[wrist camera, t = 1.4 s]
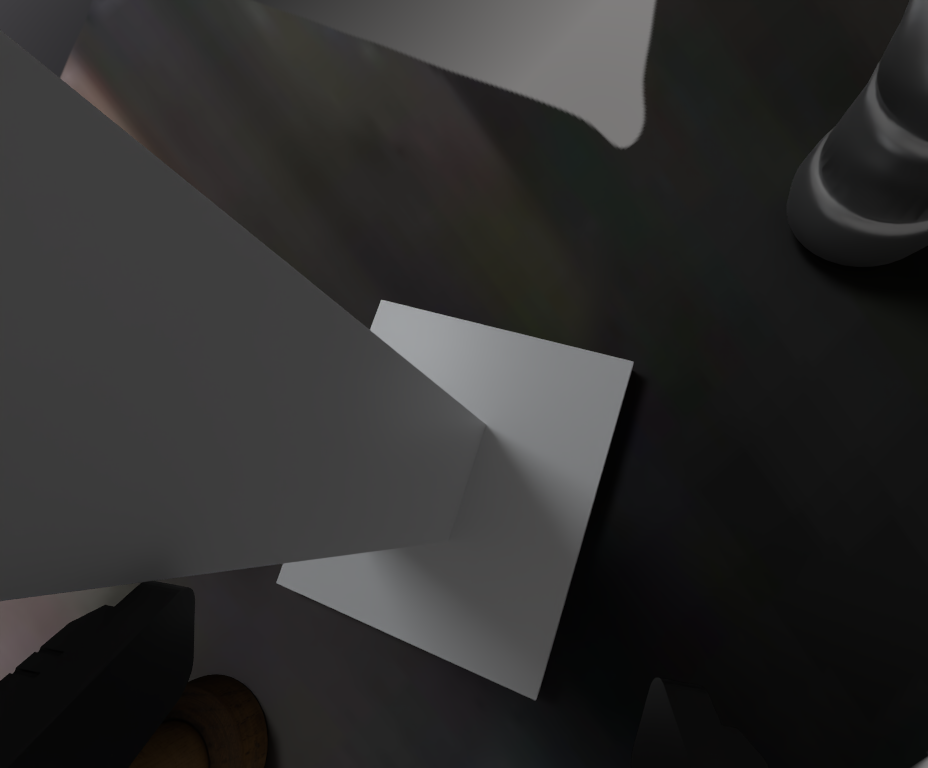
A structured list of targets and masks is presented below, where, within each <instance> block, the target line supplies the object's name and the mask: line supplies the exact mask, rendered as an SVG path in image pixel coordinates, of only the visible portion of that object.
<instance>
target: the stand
mask: <svg viewBox="0 0 928 768" xmlns="http://www.w3.org/2000/svg"><path fill="white" fill-rule="evenodd" d="M632 368H633V362H632V361H628V360H624V359H620V358H616V357H612V356H608V355H604V354H600V353H596V352H592V351H588V350H584V349H580V348H575V347H571V346H567V345H563V344H559V343H555V342H551V341H547V340H543V339H539V338H535V337H531V336H527V335H522V334H518V333H514V332H510V331H506V330H502V329H498V328H494V327H490V326H486V325H482V324H478V323H474V322H470V321H465V320H461V319H457V318H453V317H449V316H445V315H441V314H437V313H433V312H429V311H425V310H421V309H417V308H412V307H408V306H404V305H400V304H396V303H392V302H388V301H384V300H381V302H380V305H379V307H378V310H377V313H376V316H375V318H374V321H373V324H372V326H371V329H370V330H369V329H368V328H367V327H365V326H364V325H363V324H362V323H361V322H359V321H358V320H357V319H356V318H354V317H353V316H352V315H351V314H349V313H348V312H347V311H346V310H345V309H343V308H342V307H341V306H340V305H338V304H337V303H336V302H335V301H333V300H332V299H331V298H330V297H329V296H327V295H326V294H325V293H324V292H322V291H321V290H320V289H319V288H317V287H316V286H315V285H314V284H313V283H311V282H310V281H309V280H308V279H306V278H305V277H304V276H303V275H301V274H300V273H299V272H298V271H296V270H295V269H294V268H293V267H292V266H290V265H289V264H288V263H287V262H285V261H284V260H283V259H282V258H280V257H279V256H278V255H277V254H276V253H274V252H273V251H272V250H271V249H269V248H268V247H267V246H266V245H264V244H263V243H262V242H261V241H260V240H258V239H257V238H256V237H255V236H253V235H252V234H251V233H250V232H248V231H247V230H246V229H245V228H244V227H242V226H241V225H240V224H239V223H237V222H236V221H235V220H234V219H232V218H231V217H230V216H229V215H228V214H226V213H225V212H224V211H223V210H221V209H220V208H219V207H218V206H216V205H215V204H214V203H213V202H212V201H210V200H209V199H208V198H207V197H205V196H204V195H203V194H202V193H200V192H199V191H198V190H197V189H196V188H194V187H193V186H192V185H191V184H189V183H188V182H187V181H186V180H184V179H183V178H182V177H181V176H180V175H178V174H177V173H176V172H175V171H173V170H172V169H171V168H170V167H168V166H167V165H166V164H165V163H164V162H162V161H161V160H160V159H159V158H157V157H156V156H155V155H154V154H152V153H151V152H150V151H149V150H148V149H146V148H145V147H144V146H143V145H141V144H140V143H139V142H138V141H136V140H135V139H134V138H133V137H131V136H130V135H129V134H128V133H127V132H125V131H124V130H123V129H122V128H120V127H119V126H118V125H117V124H115V123H114V122H113V121H112V120H111V119H109V118H108V117H107V116H106V115H104V114H103V113H102V112H101V111H99V110H98V109H97V108H96V107H95V106H93V105H92V104H91V103H90V102H88V101H87V100H86V99H85V98H83V97H82V96H81V95H80V94H79V93H77V92H76V91H75V90H74V89H72V88H71V87H70V86H69V85H67V84H66V83H65V82H64V81H63V80H61V79H60V78H59V77H58V76H56V75H55V74H54V73H53V72H51V71H50V70H49V69H48V68H46V67H45V66H44V65H43V64H42V63H40V62H39V61H38V60H37V59H35V58H34V57H33V56H32V55H30V54H29V53H28V52H27V51H26V50H24V49H23V48H22V47H21V46H19V45H18V44H17V43H16V42H14V41H13V40H12V39H11V38H10V37H8V36H7V35H6V34H5V33H3V32H2V31H1V30H0V601H4V600H12V599H19V598H27V597H34V596H42V595H49V594H57V593H64V592H72V591H80V590H87V589H95V588H102V587H110V586H117V585H125V584H132V583H140V582H147V581H155V580H163V579H170V578H178V577H185V576H193V575H200V574H208V573H215V572H223V571H231V570H238V569H246V568H253V567H261V566H268V565H276V564H283V566H282V569H281V571H280V574H279V577H278V579H277V582H276V583H278V584H280V585H282V586H284V587H286V588H289V589H291V590H293V591H295V592H297V593H300V594H302V595H304V596H306V597H308V598H311V599H313V600H315V601H317V602H319V603H322V604H324V605H326V606H328V607H330V608H333V609H335V610H337V611H339V612H342V613H344V614H346V615H348V616H350V617H353V618H355V619H357V620H359V621H361V622H364V623H366V624H368V625H370V626H372V627H375V628H377V629H379V630H381V631H383V632H386V633H388V634H390V635H392V636H394V637H397V638H399V639H401V640H403V641H405V642H408V643H410V644H412V645H414V646H416V647H419V648H421V649H423V650H425V651H427V652H430V653H432V654H434V655H436V656H438V657H441V658H443V659H445V660H447V661H449V662H452V663H454V664H456V665H458V666H460V667H463V668H465V669H467V670H469V671H471V672H474V673H476V674H478V675H480V676H482V677H485V678H487V679H489V680H491V681H493V682H496V683H498V684H500V685H502V686H505V687H507V688H509V689H511V690H513V691H516V692H518V693H520V694H522V695H524V696H527V697H529V698H531V699H533V700H535V701H536V699H537V696H538V694H539V691H540V688H541V684H542V681H543V677H544V674H545V670H546V667H547V663H548V660H549V657H550V653H551V650H552V646H553V643H554V639H555V636H556V632H557V629H558V625H559V622H560V618H561V615H562V611H563V608H564V605H565V601H566V598H567V594H568V591H569V587H570V584H571V580H572V577H573V573H574V570H575V566H576V563H577V559H578V556H579V553H580V549H581V546H582V542H583V539H584V535H585V532H586V528H587V525H588V521H589V518H590V514H591V511H592V507H593V504H594V500H595V497H596V494H597V490H598V487H599V483H600V480H601V476H602V473H603V469H604V466H605V462H606V459H607V455H608V452H609V448H610V445H611V442H612V438H613V435H614V431H615V428H616V424H617V421H618V417H619V414H620V410H621V407H622V403H623V400H624V396H625V393H626V390H627V386H628V383H629V379H630V376H631V372H632Z"/></svg>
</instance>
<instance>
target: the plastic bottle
mask: <svg viewBox="0 0 928 768" xmlns="http://www.w3.org/2000/svg"><path fill="white" fill-rule="evenodd" d="M787 219H788V222H789V225H790V228H791V230H792V232H793V233H794V235H795V237H796V238H797V239H798V240H799V242H800V243H801V244H802V245H803V246H804V247H805V248H807V249H808V250H809V251H811V252H812V253H813V254H815V255H817V256H819V257H821V258H823V259H825V260H827V261H830V262H833V263H837V264H840V265H845V266H853V267H874V266H880V265H885V264H889V263H892V262H895V261H898V260H901V259H903V258H905V257H907V256H909V255H911V254H913V253H915V252H917V251H919V250H921V249H922V248H924V247H926V246H928V0H910V1H909V4H908V6H907V8H906V11H905V13H904V16H903V18H902V21H901V22H900V24H899V26H898V28H897V30H896V32H895V34H894V35H893V37H892V39H891V41H890V43H889V45H888V47H887V48H886V50H885V52H884V54H883V57H882V59H881V61H880V62H879V63H878V65H877V67H876V69H875V71H874V73H873V75H872V77H871V78H870V80H869V82H868V84H867V85H866V86H865V88H864V89H863V90H862V92H861V93H860V94H859V96H858V97H857V98H856V100H855V101H854V102H853V104H852V105H851V106H850V108H849V109H848V110H847V112H846V113H845V114H844V116H843V117H842V118H841V120H840V121H839V122H838V124H837V125H836V126H835V127H834V128H833V129H832V130H831V131H830V132H829V133H828V134H827V135H825V136H824V137H823V138H822V139H821V140H820V142H819V143H818V144H817V145H816V146H815V148H814V149H813V150H812V151H811V152H810V154H809V155H808V156H807V157H806V158H805V160H804V161H803V162H802V164H801V165H800V166H799V168H798V170H797V172H796V174H795V176H794V178H793V181H792V185H791V189H790V193H789V197H788V202H787Z"/></svg>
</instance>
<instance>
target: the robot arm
mask: <svg viewBox="0 0 928 768" xmlns="http://www.w3.org/2000/svg"><path fill="white" fill-rule="evenodd" d="M194 614H195V596H194V592H193V590H192V589H191V588H188V587H183V586H178V585H173V584H167V583H162V582H157V581H147V582H142V583H141V584H140V585H138V586H137V587H136V588H135V589H134V590H133V591H132V592H130V593H129V594H128V595H127V596H126V597H125V598H124V599H123V600H122V601H120V602H119V603H118V604H117V605H116V606H115V607H113V606H108V605H104V606H102V607H100V608H98V609H96V610H94V611H92V612H90V613H88V614H86V615H84V616H82V617H80V618H78V619H76V620H74V621H72V622H70V623H69V624H67V625H66V626H65V627H64V628H63V629H62V630H60V631H59V632H58V633H57V634H56V635H54V636H53V637H52V638H51V639H50V640H48V641H47V642H46V643H45V644H44V645H42V646H41V648H40V650H39V652H38V653H37V652H34V653H33V654H32V655H31V656H29V657H28V658H27V659H26V660H25V661H23V662H22V663H21V664H20V665H19V666H17V667H16V670H15V672H14V673H13V674H11V673H9V674H8V675H7V676H6V677H4V678H3V679H2V680H1V681H0V768H129V766H130V765H131V763H132V762H133V761H134V759H135V758H136V757H137V755H138V754H139V753H140V751H141V750H142V749H143V747H144V746H145V745H146V743H147V742H148V741H149V739H150V738H151V737H152V735H153V734H154V733H155V731H156V730H157V729H158V727H159V726H160V725H161V723H162V722H163V721H164V719H165V718H166V717H167V715H168V714H169V713H170V711H171V710H172V708H173V707H174V706H175V704H176V703H177V702H178V700H179V699H180V697H181V695H182V694H183V692H184V690H185V688H186V685H187V683H188V680H189V678H190V674H191V671H192V666H193V658H194ZM631 768H769V767H768V765H767V763H766V761H765V760H764V758H763V757H762V756H761V755H760V754H759V753H758V751H757V750H756V749H755V748H754V747H753V746H752V744H751V743H750V742H749V741H748V740H747V739H746V737H745V736H744V735H743V734H742V733H741V732H740V730H739V729H738V728H734V727H728V726H723V725H722V724H721V722H720V720H719V717H718V715H717V713H716V710H715V708H714V706H713V704H712V701H711V699H710V697H709V694H708V692H707V691H706V689H705V688H704V687H702V686H700V685H694V684H689V683H684V682H678V681H673V680H668V679H662V678H655V679H654V680H653V681H652V683H651V685H650V688H649V692H648V696H647V699H646V703H645V706H644V710H643V713H642V717H641V721H640V724H639V728H638V731H637V735H636V739H635V742H634V746H633V750H632V757H631Z"/></svg>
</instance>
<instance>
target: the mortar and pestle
mask: <svg viewBox="0 0 928 768" xmlns="http://www.w3.org/2000/svg"><path fill="white" fill-rule="evenodd" d="M267 743H268V739H267V728H266V722H265V718H264V715H263V712H262V710H261V707H260V705H259V703H258V701H257V700H256V698H255V697H254V695H253V694H252V692H251V691H250V690H249V689H248V688H247V687H246V686H244V685H243V684H242V683H240V682H239V681H237V680H235V679H234V678H231V677H228V676H225V675H207V676H203V677H200V678H197V679H194V680H192V681H190V682H188V683H187V685H186V688H185V690H184V692H183V694H182V695H181V697H180V699H179V700H178V702H177V703H176V704H175V706H174V707H173V708H172V710H171V711H170V713H169V714H168V715H167V717H166V718H165V719H164V721H163V722H162V723H161V725H160V726H159V727H158V729H157V730H156V731H155V733H154V734H153V735H152V737H151V738H150V739H149V741H148V742H147V743H146V745H145V746H144V747H143V749H142V750H141V751H140V753H139V754H138V755H137V757H136V758H135V759H134V761H133V762H132V763H131V765H130V766H129V768H264V766H265V761H266V756H267Z"/></svg>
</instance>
